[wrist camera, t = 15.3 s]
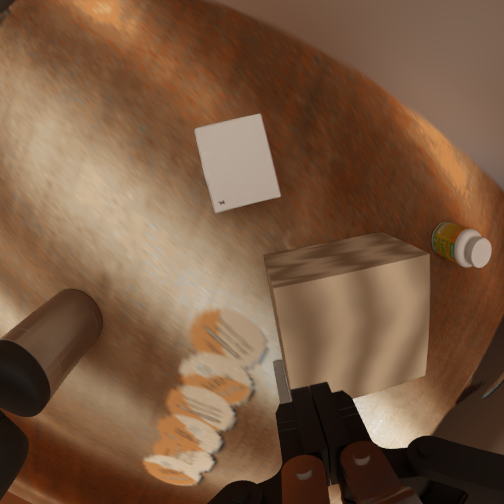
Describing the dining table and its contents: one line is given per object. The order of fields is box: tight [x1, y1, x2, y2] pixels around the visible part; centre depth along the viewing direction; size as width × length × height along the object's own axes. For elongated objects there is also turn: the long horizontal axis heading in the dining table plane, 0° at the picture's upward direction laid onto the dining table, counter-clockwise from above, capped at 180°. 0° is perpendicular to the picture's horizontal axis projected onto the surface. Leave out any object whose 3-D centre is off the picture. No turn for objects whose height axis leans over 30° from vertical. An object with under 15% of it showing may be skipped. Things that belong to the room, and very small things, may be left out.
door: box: [273, 361, 290, 404], centre depth 43 cm, size 16×2×12 cm, turn 13°
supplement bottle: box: [431, 222, 491, 268], centre depth 39 cm, size 5×5×10 cm
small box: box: [194, 114, 281, 213], centre depth 34 cm, size 8×6×13 cm
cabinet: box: [263, 232, 430, 399], centre depth 39 cm, size 17×16×13 cm
